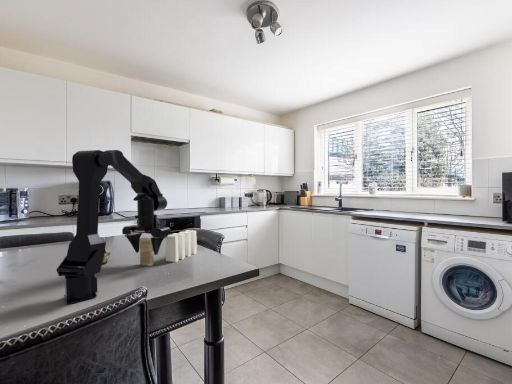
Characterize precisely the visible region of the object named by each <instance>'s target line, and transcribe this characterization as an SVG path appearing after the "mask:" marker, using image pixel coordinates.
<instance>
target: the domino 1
mask: <svg viewBox="0 0 512 384" xmlns="http://www.w3.org/2000/svg"><path fill="white" fill-rule="evenodd" d="M151 238H152V237H140V248H139V261H140V262H139V263H140V265H141V266H148V267H151V266H154V264H155V262H154V259H155V258H154V251H153V247H152V242H151Z"/></svg>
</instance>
